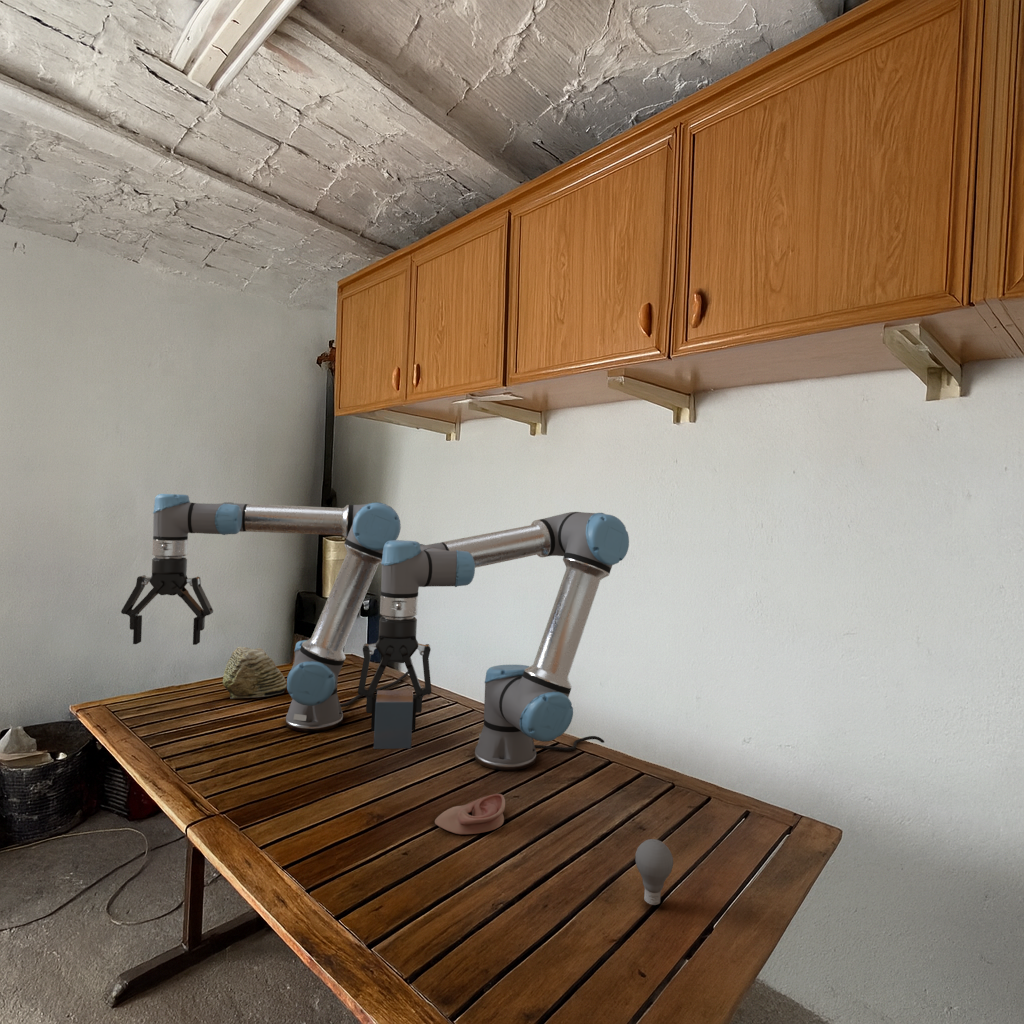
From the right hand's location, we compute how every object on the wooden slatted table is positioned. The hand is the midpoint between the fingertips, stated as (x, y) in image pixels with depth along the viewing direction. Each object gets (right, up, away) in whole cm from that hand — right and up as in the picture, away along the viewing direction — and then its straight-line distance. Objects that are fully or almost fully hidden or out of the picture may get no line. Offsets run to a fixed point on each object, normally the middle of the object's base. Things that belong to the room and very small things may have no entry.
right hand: (393, 728), depth 129 cm
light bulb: (+47, -20, -26) cm, 57 cm away
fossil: (-56, -13, +69) cm, 90 cm away
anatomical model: (+16, -18, -3) cm, 24 cm away
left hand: (-60, +12, +26) cm, 67 cm away
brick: (0, -3, 0) cm, 3 cm away
